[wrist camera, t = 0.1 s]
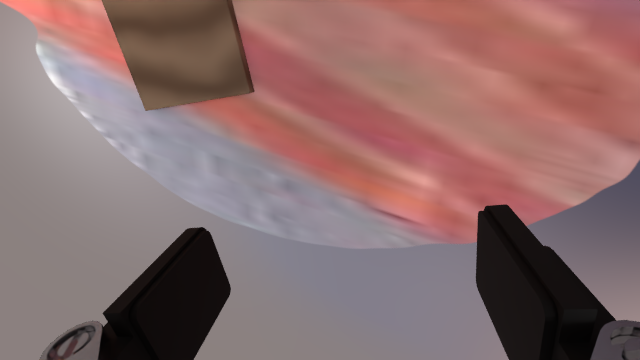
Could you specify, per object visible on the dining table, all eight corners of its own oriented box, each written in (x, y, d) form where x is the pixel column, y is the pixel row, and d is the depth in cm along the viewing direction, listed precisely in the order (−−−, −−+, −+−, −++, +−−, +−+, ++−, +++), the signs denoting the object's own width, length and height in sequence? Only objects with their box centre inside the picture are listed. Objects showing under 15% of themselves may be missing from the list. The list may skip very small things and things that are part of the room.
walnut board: (88, -58, 36) (77, -62, 34) (207, -97, 32) (200, -103, 31) (152, 108, 43) (145, 110, 42) (254, 91, 40) (250, 92, 39)
